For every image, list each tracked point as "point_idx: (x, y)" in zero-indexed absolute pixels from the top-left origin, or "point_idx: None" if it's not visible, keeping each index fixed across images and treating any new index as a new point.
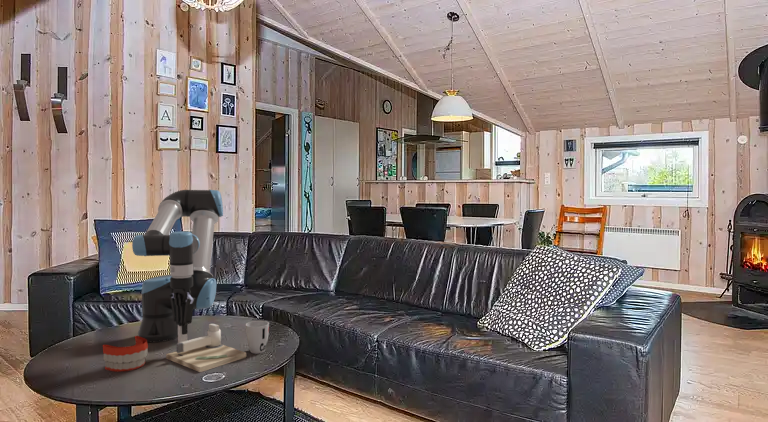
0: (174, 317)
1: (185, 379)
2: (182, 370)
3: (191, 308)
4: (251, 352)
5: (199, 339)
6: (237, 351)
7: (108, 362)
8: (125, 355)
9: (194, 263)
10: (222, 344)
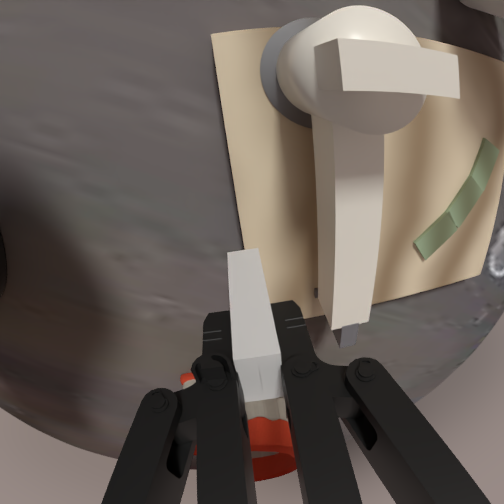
0: (182, 456)
1: (463, 309)
2: (416, 300)
3: (469, 497)
4: (467, 6)
5: (379, 223)
6: (480, 69)
7: None
8: None
9: None
10: None
